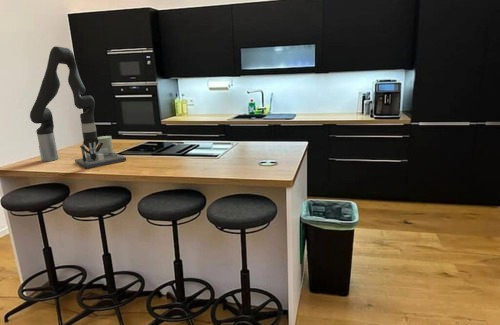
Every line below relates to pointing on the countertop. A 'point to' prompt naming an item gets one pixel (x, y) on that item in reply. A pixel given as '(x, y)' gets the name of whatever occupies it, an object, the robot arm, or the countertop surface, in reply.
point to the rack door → (103, 151)
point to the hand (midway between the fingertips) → (93, 159)
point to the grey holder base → (94, 163)
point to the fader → (99, 156)
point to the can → (106, 143)
